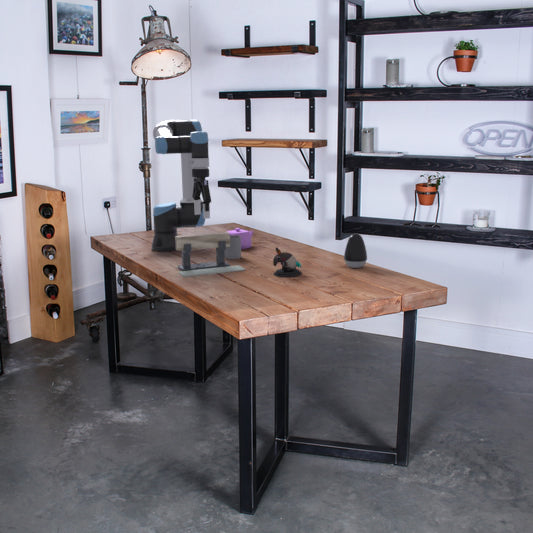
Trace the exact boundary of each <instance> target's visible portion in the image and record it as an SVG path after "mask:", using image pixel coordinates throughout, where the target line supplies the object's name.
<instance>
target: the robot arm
mask: <svg viewBox="0 0 533 533" xmlns="http://www.w3.org/2000/svg"><path fill="white" fill-rule="evenodd" d="M152 136H153V139H154V149H155V150H154V151H155V153H156V154H157V155H171V154H172V155H173V154H180V164H181V165H180V166H181V169H180V170H181V183H182V184H181V188H182V199H181V200H180V201H179V204H177V203H176V202H165V203H160V204H157V205H155V206H153V208H152V209H153V210H152V211H153V212H152V213H153V214H152V216H153V230H154V235H153V238H152V242H151V251H156V252H172V251H177V250H176V242H175V236H179V235H178V229H182V228H195V229H196V228H201V227H203V226H204V225H205V222H206V220H207V219H208V220H209V219H210V218H211V211H210V210H211V209H210V208H211V207H210V205H211V203H212V197H211V191H210V187H209V180H207V179H206V178H208V177H210V157H209V134H208V132H207V131H203V128H202V124H201V122H200V121H199V120H198V119H176V120H175V119H169V120H165V121H161V122H160V123H158V124H157V125H156V126H155V127H154V128H153V130H152ZM201 197H202V198H201Z"/></svg>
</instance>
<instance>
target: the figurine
mask: <svg viewBox="0 0 533 533" xmlns="http://www.w3.org/2000/svg"><path fill="white" fill-rule="evenodd" d="M275 252H276V253H277V254H275V256H273V257H274V258H273V260H272V264H273V266H274V267H276V266H277V264H280V265H281V268H279V269H276V270H275V271H274V272H273V276H275V277H279V278H293V277H298V276H300V275H301V274H302V271H301V270H300V269H298V268H302V265H301V263H300V262H299V261H298V260H297V258H296V257H295V256H294V254H292V253H290V252H287V251H284V252H283V251H281V250H280V249H279V248H278V247H277V246H276V247H275Z"/></svg>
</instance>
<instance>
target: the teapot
mask: <svg viewBox="0 0 533 533" xmlns="http://www.w3.org/2000/svg"><path fill="white" fill-rule="evenodd" d="M225 232H228V233H230V235H237V236H240V237H241V250H245V249H250V248H252V245H253V244H252V237H253V233H254V230H250V231H249V230H246V229H241V228H240V227H235V229H232V230H226V231H225Z"/></svg>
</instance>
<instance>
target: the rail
mask: <svg viewBox="0 0 533 533" xmlns="http://www.w3.org/2000/svg"><path fill="white" fill-rule="evenodd" d="M219 241H226V247H229V246H230V233H228V232H226V231H225V232H222V231H220V232H210V233H199V234H197V233H196V234H186V235H178V236H175V242H176V250H175V251H177V252H182V251H184V244H191V251H194V250H204V249H205V250H206V249H216V248H219Z"/></svg>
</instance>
